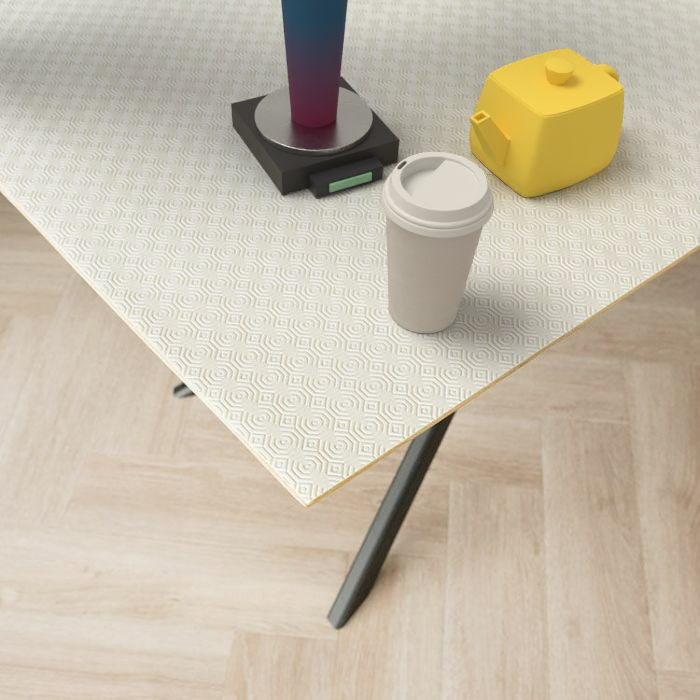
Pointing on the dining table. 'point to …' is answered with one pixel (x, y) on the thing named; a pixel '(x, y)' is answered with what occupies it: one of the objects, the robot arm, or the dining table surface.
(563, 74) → the teapot
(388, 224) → the coffee cup
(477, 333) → the dining table surface
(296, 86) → the cup
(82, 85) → the dining table surface
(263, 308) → the dining table surface
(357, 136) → the scale pan
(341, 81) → the scale
